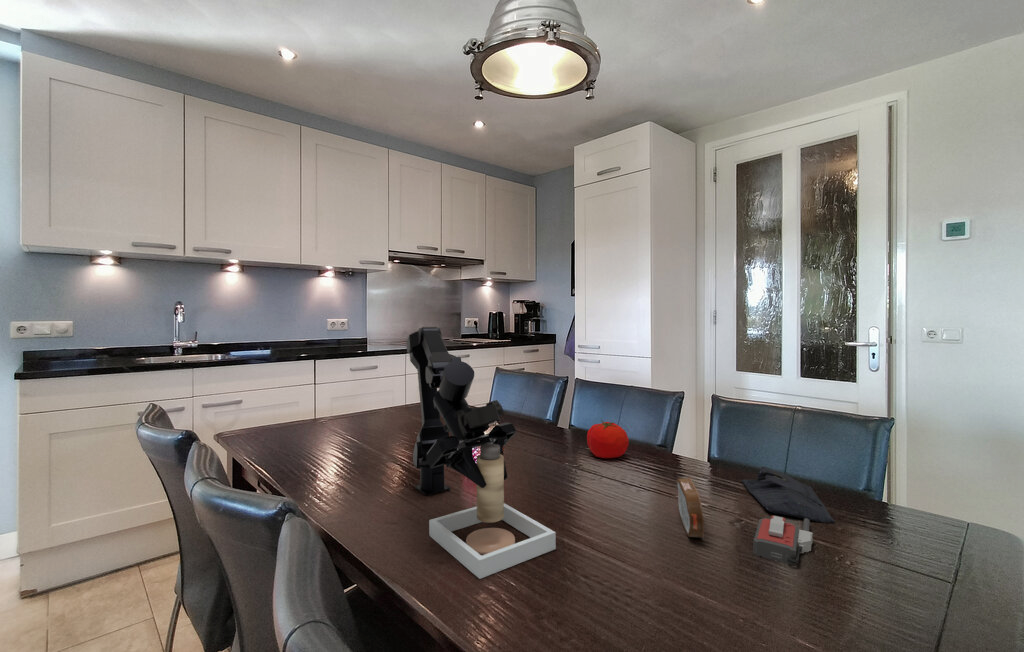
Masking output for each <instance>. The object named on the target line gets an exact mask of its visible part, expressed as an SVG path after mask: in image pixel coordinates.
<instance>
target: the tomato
mask: <svg viewBox="0 0 1024 652" xmlns="http://www.w3.org/2000/svg"><path fill="white" fill-rule="evenodd" d="M629 441H630V439H629V437H628V434H627V432H626V430H624V429H623V428H622V427H621V426H620V425H618V424H617V423H616V422H611V421H603V419H601V423H596V424H593V425H592V426H591V427H589V429H588V431H587V434H586V443H587V447H588V449H589V450H590V452H591V453H592V454H593V455H594V456H595V457H596V458H601V459H614V458H615V459H616V458H620V457H621V456H623V455H624V454H625V453H626V452H627V449H628V448H629Z"/></svg>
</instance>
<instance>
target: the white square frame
mask: <svg viewBox="0 0 1024 652" xmlns="http://www.w3.org/2000/svg"><path fill="white" fill-rule="evenodd" d="M428 521H429V522H428V525H429V526H428V527H429V528H428V530H429V531H428V532H429V534H428V535H429V537H430V538H431V539H432V540H434V541H435V542H436V543H437V544H438V545H439V546H441V548H443V549H444V550H446V551H447V552H448V553H449V554H450V555H451V556H453V557H454V559H456V560H457V561H458V562H459V563H460V564H462V565H463V566H464V567H465V568H466V569H467V570H469V572H471V573H472V574H473V575H474V576H475V577H477V578H478V579H479V580H481V579H483V578H486V577H488V576H491V575H493V574H496V573H499V572H501V571H503V570H506V569H508V568H511V567H514V566H516V565H519V564H521V563H523V562H526V561H529V560H532V559H533V558H537V557H539V556H541V555H544V554H547V553H549V552H552V551H554V550H556V549H557V547H556V537H557V533H556V531H554V530H552V529H551V528H549V527H547V526H545V525H544V524H542V523H540V522H538V521H537V520H534V519H533V518H531V517H529V516H528V515H525V514H524V513H522V512H520V511H518V510H517V509H515V508H514V507H512V506H510V505H508V504H507V503H505V502H504V518H503V519H502V520H501V521H503V522H504V523H506V524H508V525H510V526H511V527H513V528H515V529H516V530H517V531H519V532H521V533H523V534H524V535H526V536H527V537H529V538H527V539H524V540H522V541H519V542H516V537H515V535H514V533H512V532H511V531H509V530H507V529H505V528H499V527H485V528H484V527H483V528H479V529H476V530H474V531H472V532H470V533H469V534H468V535H467V536H466V540H465V541H463V540H462V539H461V538H459V537H458V536H457V535H455V534H454V533H453V532H454V531H458V530H460V529H461V530H462V529H464V528H467V527H471V526H473V525H477V524H481V523H483V522H482V521H480V520H478V519H477V505H476V506H473V507H470V508H467V509H462V510H460V511H456V512H452V513H449V514H446V515H443V516H438V517H436V518H432V519H429V520H428Z"/></svg>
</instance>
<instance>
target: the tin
mask: <svg viewBox="0 0 1024 652" xmlns="http://www.w3.org/2000/svg"><path fill="white" fill-rule="evenodd" d="M676 487H677V494H678V495H677V496H678V497H677V505H678V511H679V515H680V519H681V522H682V525H683V528H684V531H685V533H686V535H687V537H689V538H701V539H702V538H703V539H704V537H705V536H704V534H705V522H704V513H703V506H702V501H701V497H700V494H699V492H698V490H697V488H696V486H695V484H694V481H693V479H692V478H691V477H689V478H678V479H677V480H676Z"/></svg>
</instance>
